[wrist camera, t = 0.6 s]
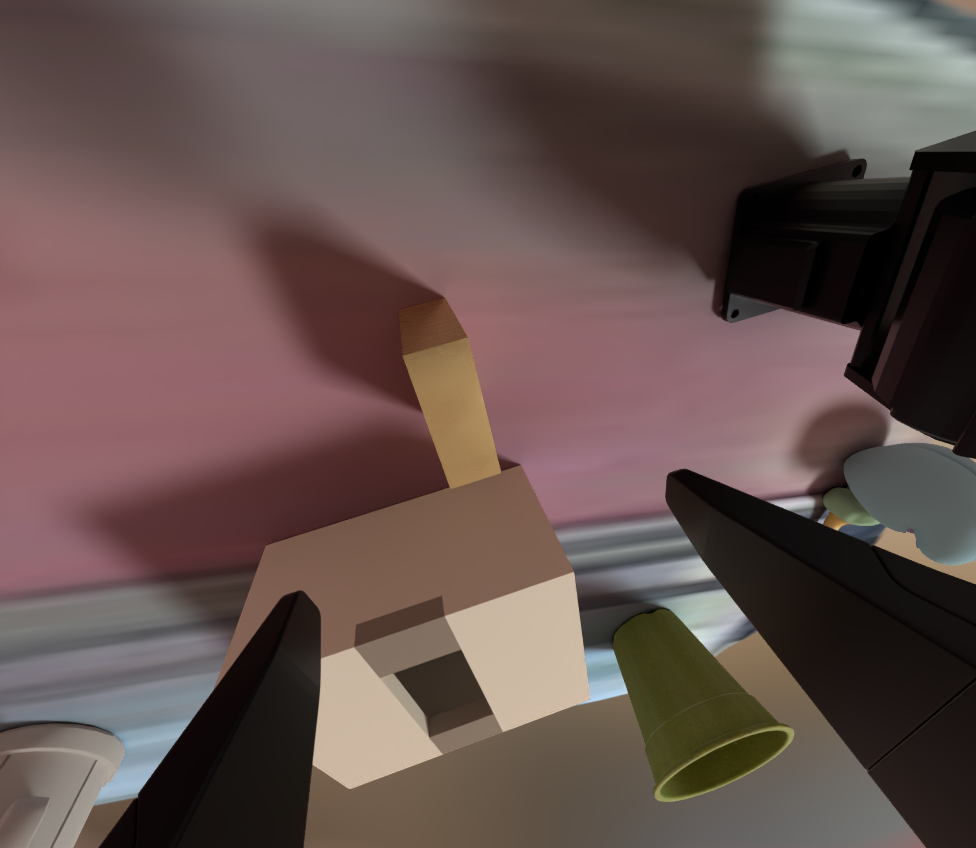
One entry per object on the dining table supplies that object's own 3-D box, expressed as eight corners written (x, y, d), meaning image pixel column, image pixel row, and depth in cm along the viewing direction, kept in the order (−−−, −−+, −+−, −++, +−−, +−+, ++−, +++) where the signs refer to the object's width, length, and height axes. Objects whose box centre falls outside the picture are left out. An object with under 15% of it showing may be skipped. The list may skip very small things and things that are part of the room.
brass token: (444, 297, 17) (467, 337, 12) (473, 406, 20) (501, 473, 15) (398, 310, 17) (402, 355, 12) (435, 417, 20) (450, 489, 15)
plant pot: (716, 591, 38) (825, 721, 28) (657, 658, 43) (733, 787, 33) (622, 590, 34) (713, 742, 24) (570, 664, 39) (628, 814, 29)
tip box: (521, 464, 23) (574, 571, 17) (546, 591, 31) (590, 699, 24) (265, 545, 22) (211, 696, 15) (358, 656, 30) (349, 789, 23)
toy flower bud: (874, 621, 28) (1004, 516, 21) (777, 529, 35) (851, 427, 29) (942, 602, 30) (1085, 497, 23) (836, 517, 37) (920, 418, 30)
